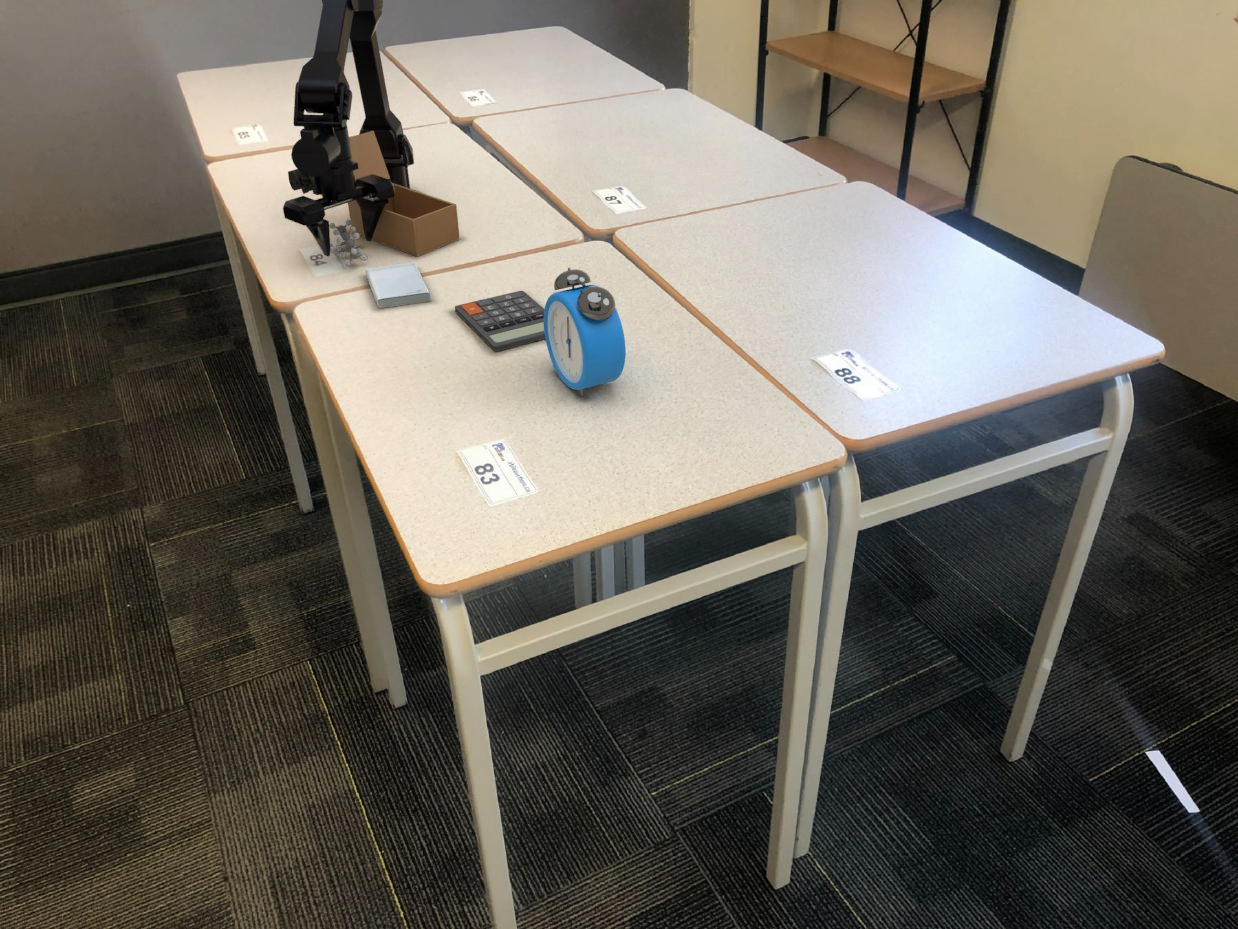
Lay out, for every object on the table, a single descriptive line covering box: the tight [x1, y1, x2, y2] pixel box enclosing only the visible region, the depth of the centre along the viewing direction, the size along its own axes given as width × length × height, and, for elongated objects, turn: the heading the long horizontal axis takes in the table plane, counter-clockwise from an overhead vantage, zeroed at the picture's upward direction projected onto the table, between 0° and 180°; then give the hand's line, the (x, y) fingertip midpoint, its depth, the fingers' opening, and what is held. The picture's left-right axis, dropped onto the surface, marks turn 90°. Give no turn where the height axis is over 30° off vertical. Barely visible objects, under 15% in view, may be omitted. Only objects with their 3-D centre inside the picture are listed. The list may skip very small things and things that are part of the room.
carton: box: [347, 183, 461, 258], centre depth 169 cm, size 18×10×6 cm, turn 51°
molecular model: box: [329, 219, 368, 267], centre depth 162 cm, size 14×4×5 cm, turn 24°
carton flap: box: [349, 131, 390, 181], centre depth 169 cm, size 9×10×1 cm
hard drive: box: [365, 262, 432, 309], centre depth 152 cm, size 2×8×12 cm
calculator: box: [454, 290, 546, 352], centre depth 143 cm, size 12×1×15 cm
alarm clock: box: [544, 267, 627, 397], centre depth 125 cm, size 13×6×15 cm, turn 29°
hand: (348, 247), depth 162 cm, fingers open, 8 cm apart
